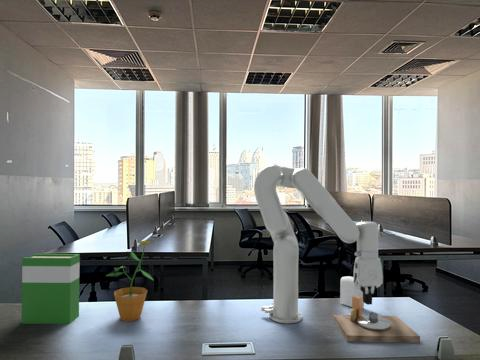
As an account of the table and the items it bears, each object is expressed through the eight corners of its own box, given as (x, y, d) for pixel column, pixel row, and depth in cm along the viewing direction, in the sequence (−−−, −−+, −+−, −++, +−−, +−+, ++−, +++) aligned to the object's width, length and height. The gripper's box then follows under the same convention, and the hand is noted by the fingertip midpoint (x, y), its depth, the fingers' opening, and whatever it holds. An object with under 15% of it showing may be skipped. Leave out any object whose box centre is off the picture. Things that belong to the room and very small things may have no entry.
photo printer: (338, 303, 153) (338, 275, 153) (344, 301, 155) (344, 273, 155) (359, 310, 145) (360, 280, 145) (365, 308, 147) (365, 278, 147)
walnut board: (347, 341, 116) (347, 323, 116) (333, 320, 134) (333, 304, 134) (419, 342, 116) (420, 324, 116) (396, 321, 134) (396, 305, 134)
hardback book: (21, 323, 129) (22, 257, 129) (33, 315, 136) (34, 253, 136) (69, 323, 129) (70, 258, 129) (78, 316, 136) (79, 254, 136)
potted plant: (159, 309, 144) (160, 236, 144) (145, 328, 125) (146, 244, 126) (116, 308, 145) (117, 235, 145) (96, 327, 126) (97, 243, 126)
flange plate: (396, 325, 124) (396, 302, 124) (379, 333, 117) (380, 309, 117) (361, 314, 135) (361, 293, 135) (345, 321, 128) (345, 299, 128)
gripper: (356, 257, 126) (356, 308, 126) (391, 255, 131) (391, 304, 130) (344, 253, 134) (344, 302, 133) (377, 251, 138) (377, 298, 138)
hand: (367, 303), depth 132 cm, fingers closed
